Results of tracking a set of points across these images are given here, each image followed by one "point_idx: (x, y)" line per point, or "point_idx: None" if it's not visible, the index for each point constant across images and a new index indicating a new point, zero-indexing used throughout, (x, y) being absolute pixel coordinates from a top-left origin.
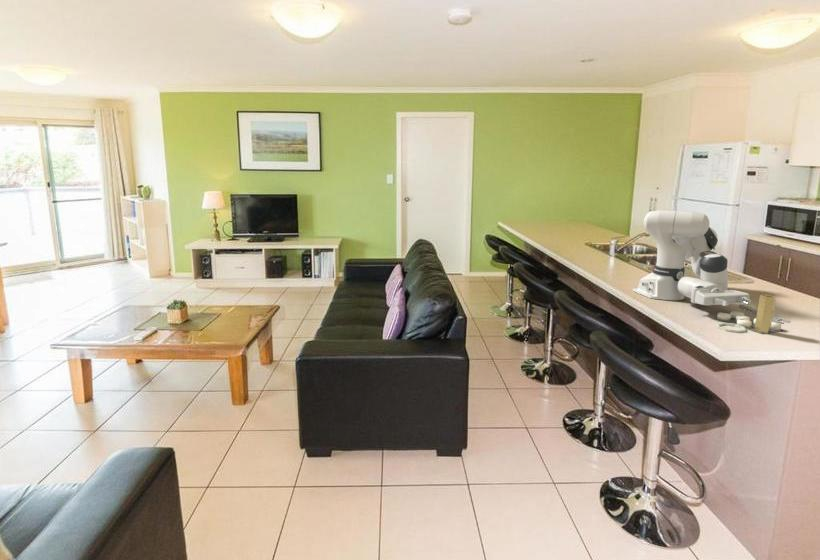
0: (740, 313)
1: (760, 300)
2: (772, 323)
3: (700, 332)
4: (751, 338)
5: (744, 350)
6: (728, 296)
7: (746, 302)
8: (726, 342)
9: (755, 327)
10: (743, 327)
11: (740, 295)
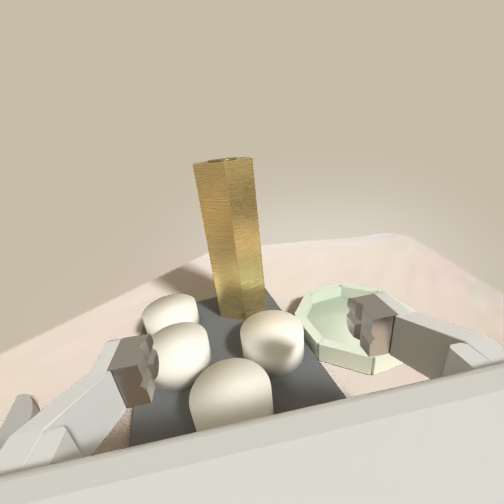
0: None
1: (253, 180)
2: (172, 309)
3: (484, 303)
4: (307, 280)
5: (360, 237)
6: (291, 414)
7: (149, 357)
8: (392, 257)
9: (264, 294)
10: (302, 308)
11: (29, 469)
